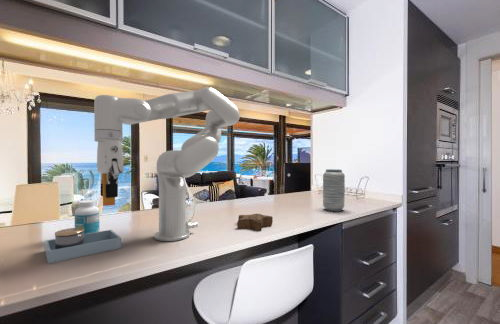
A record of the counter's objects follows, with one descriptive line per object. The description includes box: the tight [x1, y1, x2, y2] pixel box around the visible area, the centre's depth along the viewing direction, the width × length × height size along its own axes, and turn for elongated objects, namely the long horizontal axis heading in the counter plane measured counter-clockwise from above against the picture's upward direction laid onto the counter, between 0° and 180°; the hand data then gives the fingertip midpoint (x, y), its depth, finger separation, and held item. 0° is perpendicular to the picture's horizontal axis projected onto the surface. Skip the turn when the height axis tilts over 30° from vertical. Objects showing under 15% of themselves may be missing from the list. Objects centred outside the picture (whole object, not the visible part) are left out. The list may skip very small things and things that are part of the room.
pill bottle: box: [74, 199, 100, 234], centre depth 89 cm, size 8×7×14 cm
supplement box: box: [102, 173, 116, 207], centre depth 77 cm, size 3×3×10 cm
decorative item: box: [236, 213, 274, 231], centre depth 108 cm, size 16×6×15 cm
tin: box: [54, 227, 84, 249], centre depth 75 cm, size 7×7×6 cm
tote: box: [44, 229, 122, 264], centre depth 78 cm, size 18×12×4 cm, turn 132°
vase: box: [322, 168, 346, 212], centre depth 143 cm, size 12×12×23 cm
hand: (109, 195), depth 77 cm, fingers closed on supplement box, 4 cm apart
